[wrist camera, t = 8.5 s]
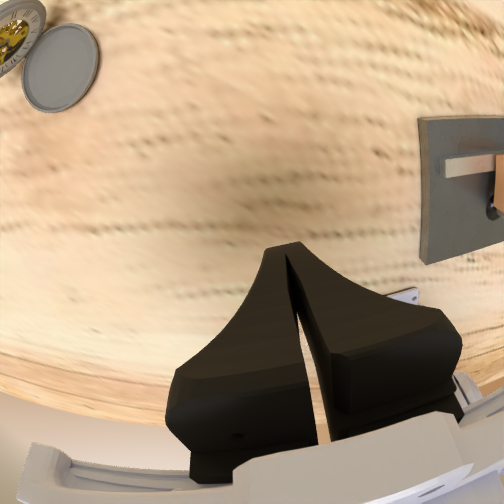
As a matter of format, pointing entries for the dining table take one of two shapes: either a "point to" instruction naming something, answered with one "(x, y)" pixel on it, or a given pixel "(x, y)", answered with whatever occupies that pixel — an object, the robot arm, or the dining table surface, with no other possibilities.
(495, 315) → the dining table surface
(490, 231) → the bolt plate
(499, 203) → the orange block
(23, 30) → the pocket watch
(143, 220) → the dining table surface
